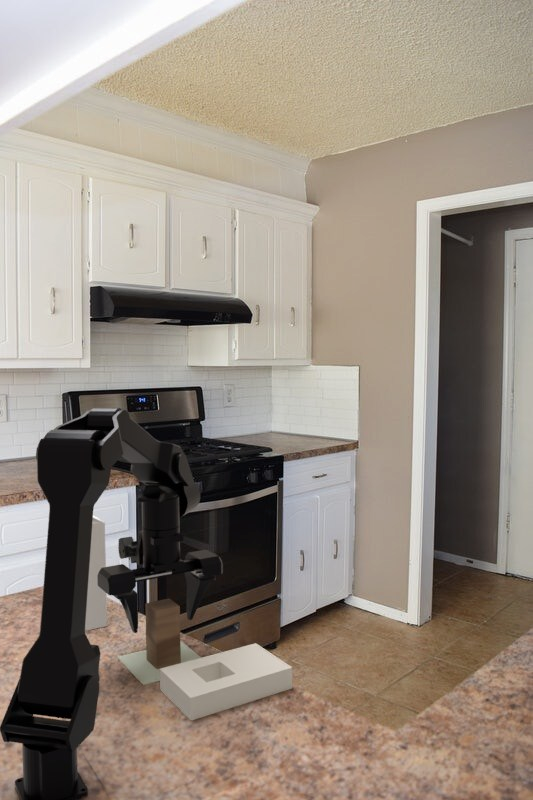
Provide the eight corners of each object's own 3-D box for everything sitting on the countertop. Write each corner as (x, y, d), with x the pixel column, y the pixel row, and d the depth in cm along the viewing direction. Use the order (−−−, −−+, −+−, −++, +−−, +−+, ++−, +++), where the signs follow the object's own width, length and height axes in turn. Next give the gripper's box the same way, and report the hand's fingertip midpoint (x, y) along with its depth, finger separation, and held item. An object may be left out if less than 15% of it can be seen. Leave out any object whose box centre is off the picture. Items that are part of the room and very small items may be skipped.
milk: (73, 633, 119) (69, 509, 117) (65, 622, 124) (61, 502, 122) (108, 626, 122) (104, 504, 120) (98, 615, 127) (95, 498, 125)
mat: (211, 669, 104) (211, 665, 104) (143, 688, 98) (143, 684, 98) (180, 644, 113) (180, 641, 113) (117, 660, 108) (117, 656, 108)
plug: (180, 662, 105) (179, 605, 105) (156, 669, 103) (155, 611, 103) (170, 653, 109) (169, 598, 108) (146, 659, 106) (145, 603, 106)
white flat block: (292, 691, 97) (292, 667, 97) (190, 724, 89) (190, 697, 88) (256, 665, 105) (255, 643, 105) (160, 692, 97) (159, 668, 97)
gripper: (192, 509, 116) (194, 598, 117) (85, 524, 106) (87, 621, 107) (223, 522, 107) (225, 619, 108) (109, 539, 97) (111, 646, 98)
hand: (162, 625), depth 105 cm, fingers open, 9 cm apart
